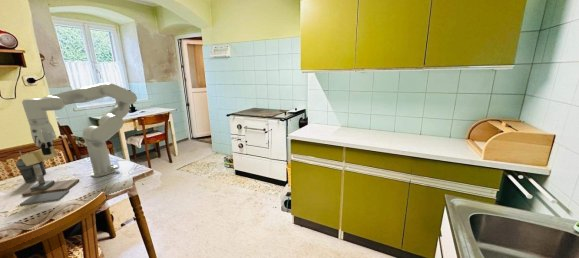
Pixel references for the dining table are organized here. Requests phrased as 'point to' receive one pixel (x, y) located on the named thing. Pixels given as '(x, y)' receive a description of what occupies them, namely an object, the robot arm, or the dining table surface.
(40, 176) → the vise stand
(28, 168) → the beverage cup
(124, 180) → the dining table surface
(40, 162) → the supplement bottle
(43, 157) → the beige block
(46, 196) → the mat
